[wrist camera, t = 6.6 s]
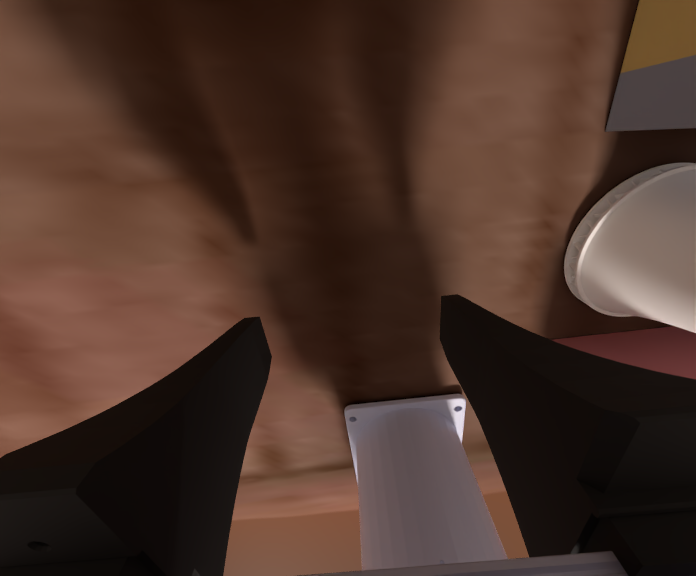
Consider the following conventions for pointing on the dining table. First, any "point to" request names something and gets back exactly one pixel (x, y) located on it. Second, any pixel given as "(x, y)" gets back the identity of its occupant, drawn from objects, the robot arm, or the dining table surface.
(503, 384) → the robot arm
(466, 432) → the dining table surface
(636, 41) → the book row
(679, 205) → the vase
